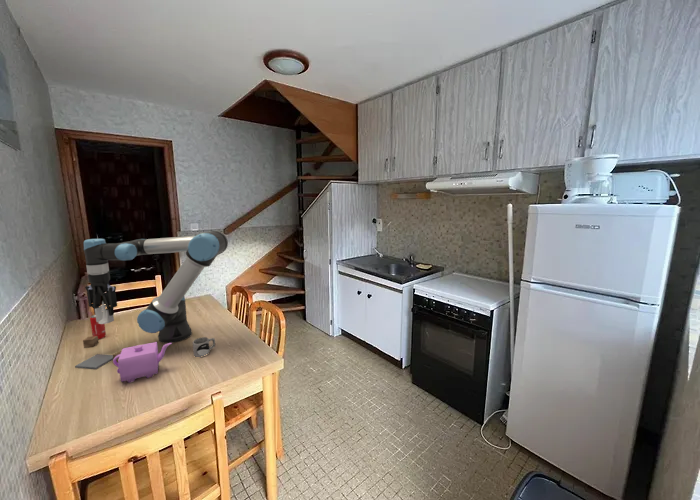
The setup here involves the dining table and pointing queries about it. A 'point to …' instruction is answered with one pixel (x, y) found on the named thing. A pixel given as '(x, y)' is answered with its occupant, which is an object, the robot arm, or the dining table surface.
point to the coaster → (95, 361)
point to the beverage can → (97, 328)
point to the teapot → (139, 361)
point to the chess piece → (103, 314)
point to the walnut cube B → (116, 355)
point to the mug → (202, 346)
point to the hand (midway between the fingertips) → (105, 321)
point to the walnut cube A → (90, 341)
